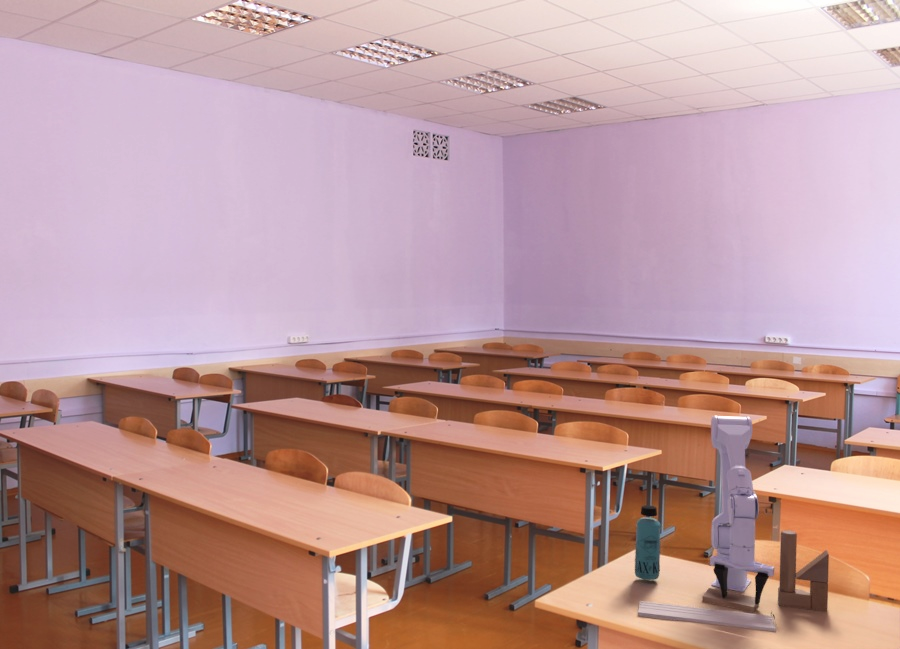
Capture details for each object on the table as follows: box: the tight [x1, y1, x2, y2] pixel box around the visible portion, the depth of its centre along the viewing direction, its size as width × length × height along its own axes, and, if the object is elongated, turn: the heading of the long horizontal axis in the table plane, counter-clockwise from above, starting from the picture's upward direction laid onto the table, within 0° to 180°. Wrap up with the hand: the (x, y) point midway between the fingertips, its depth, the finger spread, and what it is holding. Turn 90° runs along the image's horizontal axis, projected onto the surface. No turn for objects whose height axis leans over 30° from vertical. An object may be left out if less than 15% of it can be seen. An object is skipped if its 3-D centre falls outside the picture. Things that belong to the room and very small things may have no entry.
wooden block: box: [777, 529, 830, 613], centre depth 189 cm, size 4×11×18 cm, turn 71°
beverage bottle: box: [633, 504, 661, 581], centre depth 205 cm, size 6×7×20 cm
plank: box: [702, 587, 760, 613], centre depth 191 cm, size 6×12×2 cm, turn 57°
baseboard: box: [637, 600, 777, 632], centre depth 183 cm, size 30×3×10 cm
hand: (740, 599), depth 189 cm, fingers open, 7 cm apart
